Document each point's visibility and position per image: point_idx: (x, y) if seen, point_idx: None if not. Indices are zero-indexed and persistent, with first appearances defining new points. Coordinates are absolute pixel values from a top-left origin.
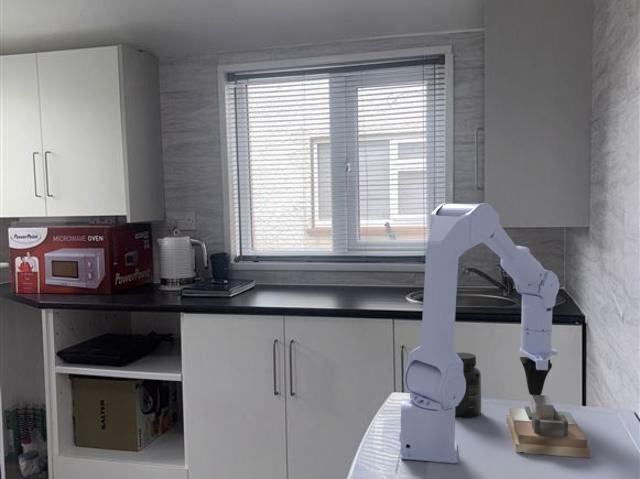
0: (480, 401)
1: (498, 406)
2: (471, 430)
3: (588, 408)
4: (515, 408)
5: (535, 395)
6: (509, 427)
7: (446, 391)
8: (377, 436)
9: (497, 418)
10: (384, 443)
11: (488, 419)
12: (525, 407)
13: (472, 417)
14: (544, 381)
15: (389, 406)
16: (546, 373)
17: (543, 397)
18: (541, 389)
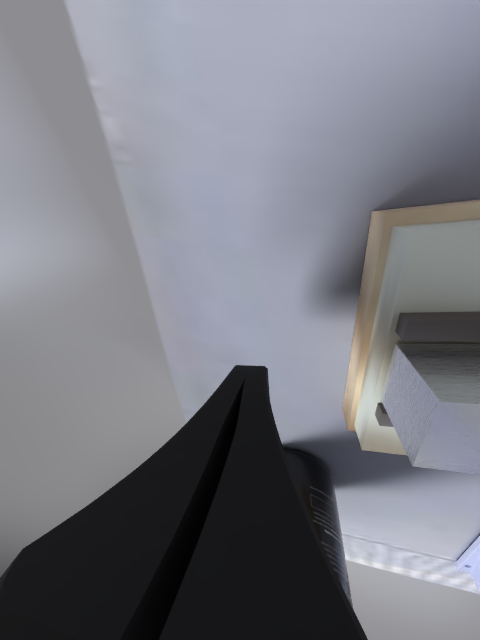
0: (307, 492)
1: None
2: (404, 478)
3: (114, 93)
4: (365, 437)
5: (427, 455)
6: None
7: None
8: (430, 576)
9: (315, 422)
10: (465, 578)
11: (325, 439)
12: (392, 426)
13: (326, 467)
14: (273, 428)
15: None
16: (309, 523)
17: (476, 431)
18: (266, 389)
